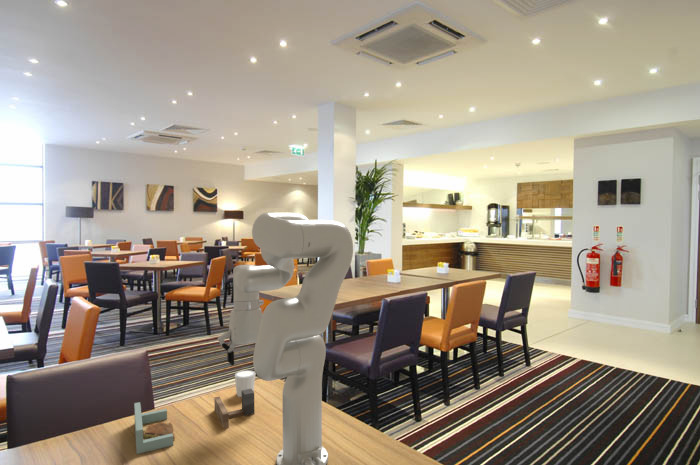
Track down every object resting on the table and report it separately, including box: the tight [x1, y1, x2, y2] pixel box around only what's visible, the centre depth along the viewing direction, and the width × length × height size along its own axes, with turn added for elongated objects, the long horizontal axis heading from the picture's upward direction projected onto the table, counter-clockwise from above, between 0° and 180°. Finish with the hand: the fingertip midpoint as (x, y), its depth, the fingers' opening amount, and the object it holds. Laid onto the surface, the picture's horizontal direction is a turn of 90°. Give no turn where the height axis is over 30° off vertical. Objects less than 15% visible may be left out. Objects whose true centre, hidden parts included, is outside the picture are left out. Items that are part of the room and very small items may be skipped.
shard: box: [143, 421, 176, 442], centre depth 113 cm, size 11×8×2 cm
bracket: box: [133, 401, 174, 455], centre depth 114 cm, size 18×8×6 cm, turn 29°
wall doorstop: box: [214, 389, 255, 429], centre depth 125 cm, size 13×10×6 cm
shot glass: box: [234, 369, 256, 398], centre depth 140 cm, size 7×7×7 cm
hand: (247, 361), depth 126 cm, fingers open, 9 cm apart
